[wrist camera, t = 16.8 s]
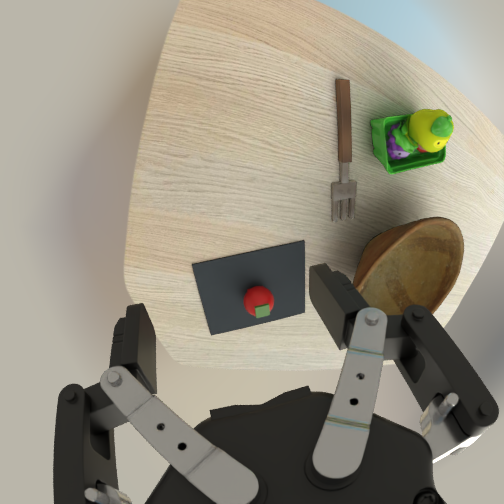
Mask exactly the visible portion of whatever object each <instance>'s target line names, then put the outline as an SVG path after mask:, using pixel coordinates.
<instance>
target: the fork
mask: <svg viewBox="0 0 504 504" xmlns="http://www.w3.org/2000/svg"><path fill="white" fill-rule="evenodd" d="M336 96H337V117H338V154H339V161H340V182H336V183H332V193H331V199H332V221H334V222H337V221H338V200H341V213H340V218H341V219H342V220H346V211H347V199H349V217H350V218H351V219H352V218H354V217H355V198H356V183H357V182H356V181H355V180H350V181H349V162H352V136H351V101H350V82H349V80H342V79H336Z"/></svg>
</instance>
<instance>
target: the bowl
mask: <svg viewBox="0 0 504 504" xmlns="http://www.w3.org/2000/svg"><path fill="white" fill-rule="evenodd" d="M463 254H464V240H463V236H462V234H461V230H460V229H459V227H458V226H457V224H456V223H454V222H453V221H451V220H449V219H447V218H443V217H430V218H424V219H420V220H417V221H413V222H410V223H408V224H405V225H401V226H397V227H395V228H392V229H390V230H388V231H386V232H383V233H381V234H379V235H377V236H376V237H375V238H373V239H372V240H371V241H370V242H369V243H368V244H367V245H366V247H365V249H364V251H363V254H362V256H361V260H360V262H359V265H358V268H357V270H356V273H355V277H354V281H353V285H354V286H355V289H357V290H358V292H359V293H360V294H361V295H362V297H363V298H364V299H365V300H366V302H367V303H368V304H369V306H370V307H373V308H377V309H380V310H382V311H383V312H384V313H385V314H386V315H400V314H403V313H404V310H405V308H406V307H408V306H410V305H421V306H424V307H426V308H427V309H428V310H429V311H430V312H431V313H432V314H433V313H434V312H435V311H436V310H437V309H438V307H439V306H440V305H441V303H442V302H443V301H444V299H445V298H446V297H447V295H448V294H449V292H450V291H451V290H452V288H453V286H454V285H455V283H456V280H457V278H458V275H459V273H460V270H461V265H462V260H463Z"/></svg>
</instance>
